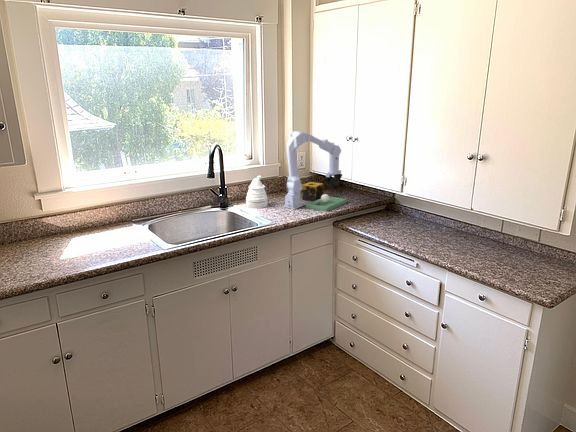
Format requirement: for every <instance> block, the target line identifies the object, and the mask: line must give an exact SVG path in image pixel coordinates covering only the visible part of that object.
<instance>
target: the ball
mask: <svg viewBox="0 0 576 432" xmlns="http://www.w3.org/2000/svg"><path fill="white" fill-rule="evenodd" d="M329 196H330V195H328V194H326V193H323V195H322V196H321V200H322V202H328V201H329Z"/></svg>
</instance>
